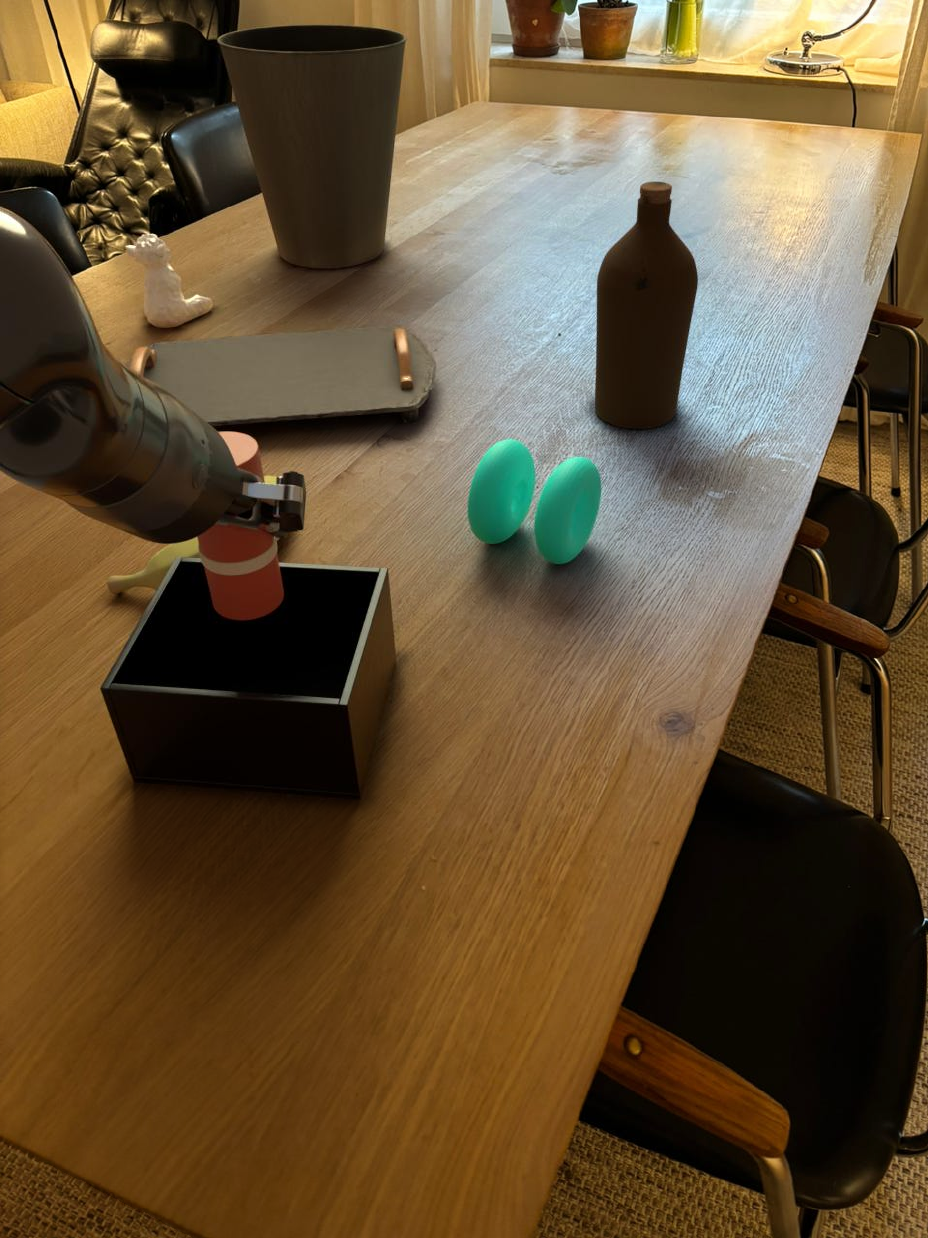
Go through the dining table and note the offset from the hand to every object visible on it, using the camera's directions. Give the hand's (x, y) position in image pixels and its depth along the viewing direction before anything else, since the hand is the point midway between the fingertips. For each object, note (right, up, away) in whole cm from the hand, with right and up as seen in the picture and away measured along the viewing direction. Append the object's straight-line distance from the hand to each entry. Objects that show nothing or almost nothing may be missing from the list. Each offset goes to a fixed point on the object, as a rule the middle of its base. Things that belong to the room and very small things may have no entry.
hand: (243, 521), depth 68 cm
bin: (0, -14, +10) cm, 18 cm away
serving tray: (-7, +21, +53) cm, 57 cm away
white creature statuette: (-26, +35, +71) cm, 83 cm away
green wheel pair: (+22, 0, +27) cm, 35 cm away
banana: (-9, -1, +27) cm, 29 cm away
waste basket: (-5, +52, +90) cm, 104 cm away
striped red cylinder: (0, -5, +2) cm, 6 cm away
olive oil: (+35, +17, +47) cm, 61 cm away
